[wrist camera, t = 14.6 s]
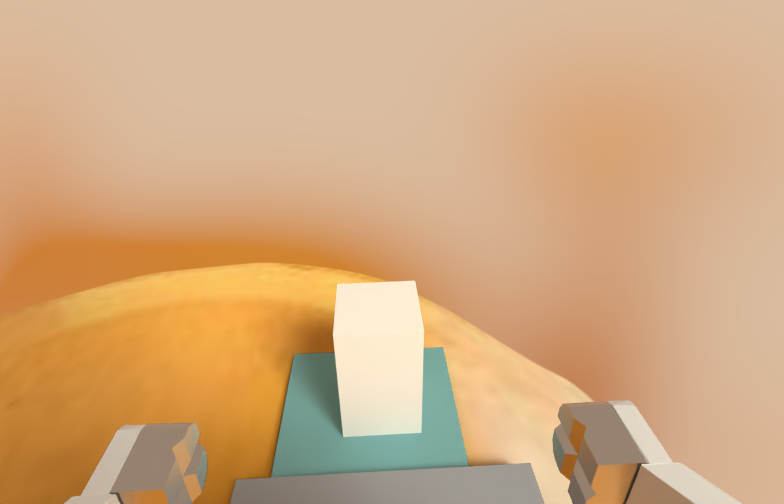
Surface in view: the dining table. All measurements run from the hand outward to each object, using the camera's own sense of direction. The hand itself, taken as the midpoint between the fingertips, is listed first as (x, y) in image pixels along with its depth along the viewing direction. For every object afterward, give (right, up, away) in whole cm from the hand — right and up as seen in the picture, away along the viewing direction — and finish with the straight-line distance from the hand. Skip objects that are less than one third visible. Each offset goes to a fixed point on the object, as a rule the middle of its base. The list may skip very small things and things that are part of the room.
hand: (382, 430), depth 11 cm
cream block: (-1, -8, +28) cm, 29 cm away
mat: (-2, -9, +28) cm, 30 cm away
